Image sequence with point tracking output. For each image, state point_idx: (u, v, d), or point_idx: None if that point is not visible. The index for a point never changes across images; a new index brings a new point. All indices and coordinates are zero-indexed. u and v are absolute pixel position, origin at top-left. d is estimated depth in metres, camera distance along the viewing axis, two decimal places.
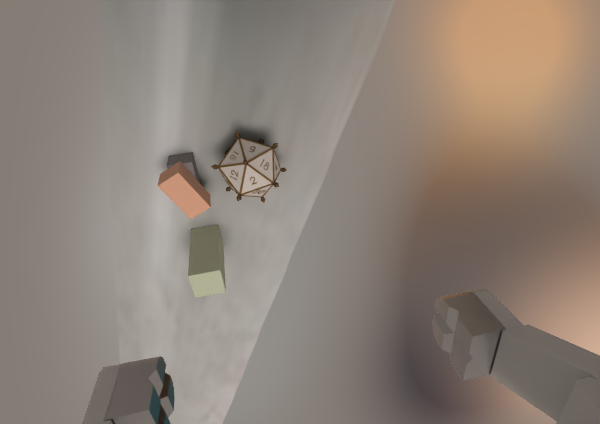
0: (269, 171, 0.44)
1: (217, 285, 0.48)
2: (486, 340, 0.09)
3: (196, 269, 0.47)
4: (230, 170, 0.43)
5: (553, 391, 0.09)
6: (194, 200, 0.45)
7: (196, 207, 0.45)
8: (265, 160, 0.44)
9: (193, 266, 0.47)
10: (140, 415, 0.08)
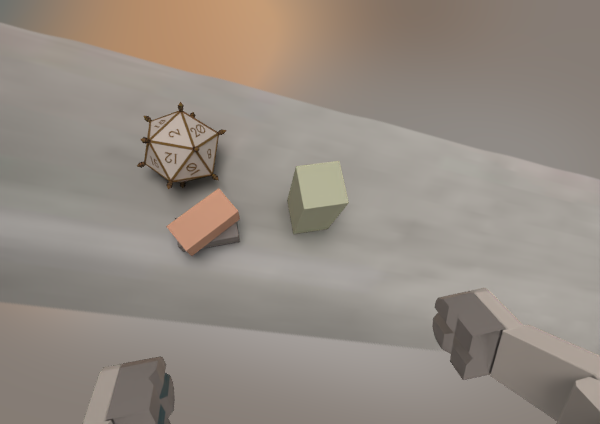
0: (168, 117, 0.36)
1: (325, 170, 0.33)
2: (486, 340, 0.09)
3: (300, 201, 0.33)
4: (167, 163, 0.35)
5: (553, 391, 0.09)
6: (208, 207, 0.35)
7: (219, 204, 0.35)
8: (156, 124, 0.36)
9: (300, 207, 0.33)
10: (140, 415, 0.08)
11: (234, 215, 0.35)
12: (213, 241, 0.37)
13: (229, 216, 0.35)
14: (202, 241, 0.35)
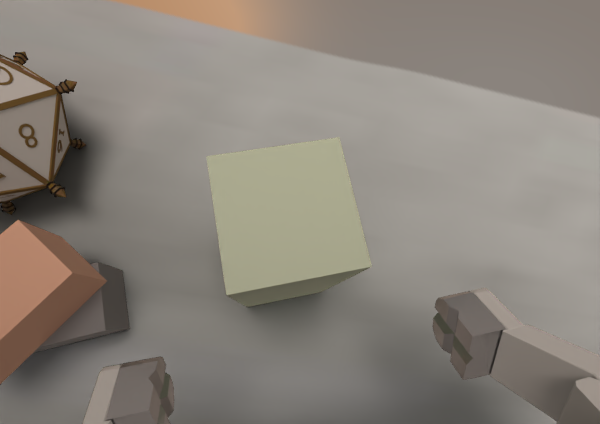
0: None
1: (296, 167, 0.11)
2: (486, 340, 0.09)
3: None
4: None
5: (553, 391, 0.09)
6: None
7: (19, 264, 0.13)
8: None
9: None
10: (140, 416, 0.08)
11: (68, 283, 0.14)
12: (46, 345, 0.16)
13: (48, 290, 0.13)
14: None
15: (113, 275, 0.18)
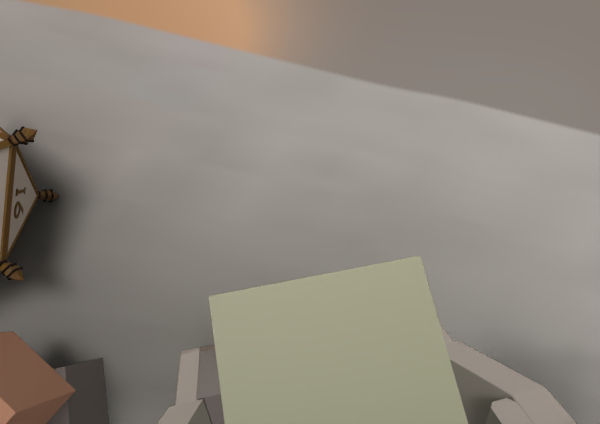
0: None
1: (355, 311, 0.07)
2: None
3: None
4: None
5: (478, 410, 0.09)
6: None
7: None
8: None
9: None
10: None
11: None
12: None
13: None
14: None
15: (88, 372, 0.14)
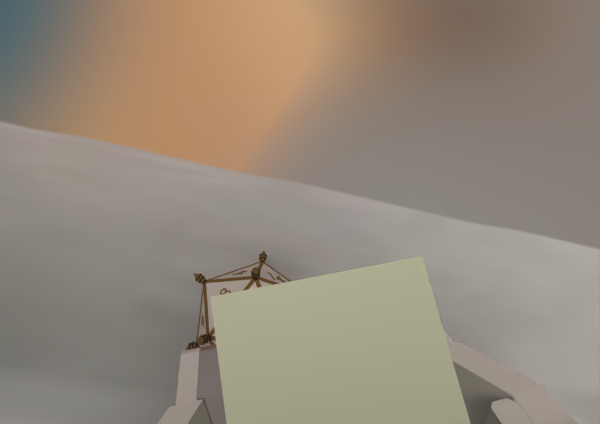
0: (234, 287, 0.22)
1: (357, 312, 0.07)
2: None
3: None
4: None
5: (478, 410, 0.09)
6: None
7: None
8: None
9: None
10: None
11: None
12: None
13: None
14: None
15: None
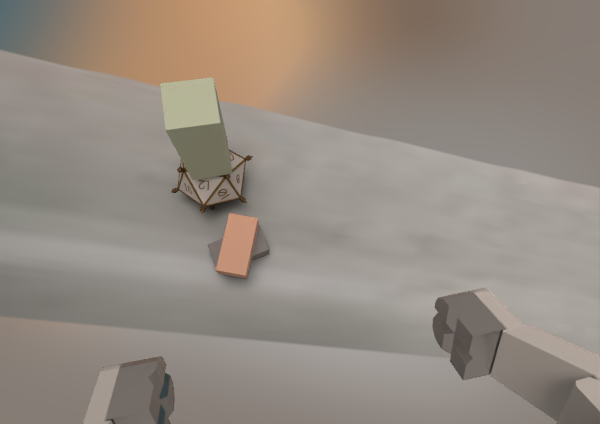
0: None
1: (195, 88, 0.28)
2: (486, 340, 0.09)
3: None
4: (200, 190, 0.38)
5: (553, 391, 0.09)
6: (234, 232, 0.37)
7: (240, 224, 0.38)
8: None
9: None
10: (140, 416, 0.08)
11: (256, 223, 0.38)
12: None
13: (254, 226, 0.38)
14: (249, 260, 0.38)
15: None
